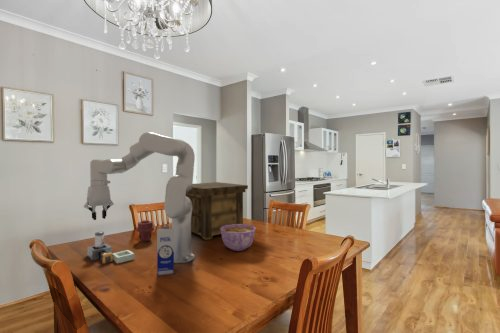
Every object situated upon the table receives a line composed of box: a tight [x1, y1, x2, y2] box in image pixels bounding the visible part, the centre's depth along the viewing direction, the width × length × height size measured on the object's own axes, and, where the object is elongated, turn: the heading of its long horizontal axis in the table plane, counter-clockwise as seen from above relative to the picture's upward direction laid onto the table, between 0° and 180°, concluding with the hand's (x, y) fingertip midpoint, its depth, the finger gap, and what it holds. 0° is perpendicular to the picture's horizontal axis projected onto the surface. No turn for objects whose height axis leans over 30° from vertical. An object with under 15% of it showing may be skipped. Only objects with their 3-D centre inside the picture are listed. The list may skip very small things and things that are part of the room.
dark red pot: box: [136, 219, 155, 243], centre depth 164 cm, size 12×10×10 cm
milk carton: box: [156, 226, 175, 277], centre depth 118 cm, size 7×7×20 cm
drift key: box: [99, 251, 113, 264], centre depth 132 cm, size 10×4×4 cm, turn 45°
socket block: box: [86, 242, 113, 261], centre depth 138 cm, size 9×9×4 cm
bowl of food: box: [220, 223, 257, 252], centre depth 150 cm, size 20×20×12 cm
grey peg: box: [94, 231, 105, 250], centre depth 138 cm, size 4×4×12 cm
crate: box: [186, 181, 249, 241], centre depth 183 cm, size 35×35×33 cm
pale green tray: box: [112, 249, 136, 264], centre depth 133 cm, size 8×8×3 cm
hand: (99, 218), depth 137 cm, fingers open, 3 cm apart
